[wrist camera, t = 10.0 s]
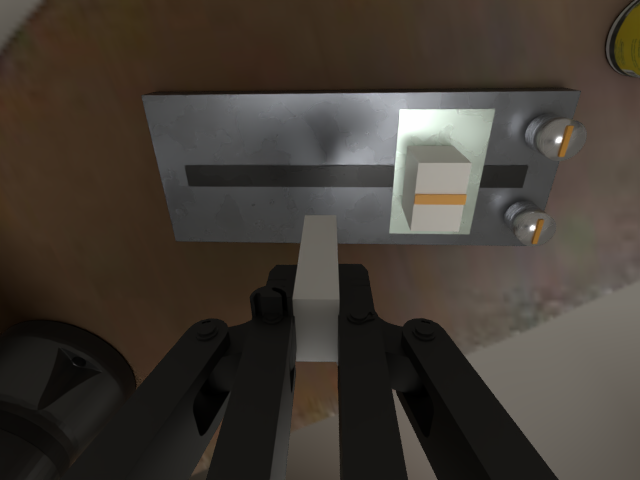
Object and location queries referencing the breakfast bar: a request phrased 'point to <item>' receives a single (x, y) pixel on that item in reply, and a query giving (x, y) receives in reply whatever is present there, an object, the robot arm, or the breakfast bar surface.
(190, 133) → the console
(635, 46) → the supplement bottle
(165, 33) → the breakfast bar surface
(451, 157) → the fader
